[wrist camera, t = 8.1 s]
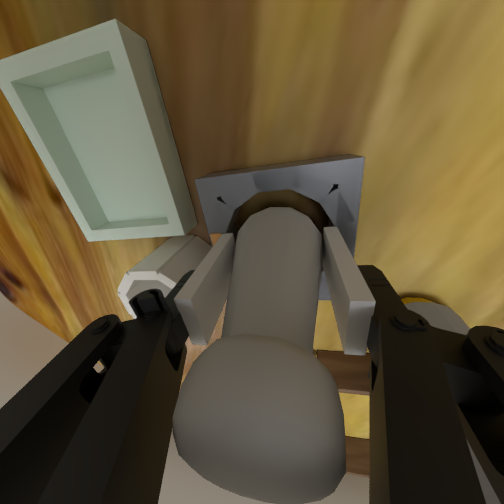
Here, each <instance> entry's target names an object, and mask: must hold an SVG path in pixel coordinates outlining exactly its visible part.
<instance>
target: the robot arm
mask: <svg viewBox="0 0 504 504" xmlns="http://www.w3.org/2000/svg"><path fill="white" fill-rule="evenodd" d="M234 251H235V241H234V236H233V233H228V234H222V235H221V236H220V238H219V239H218V240H217V242H216V243H215V245H214V246H213V247H212V249H211V250H210V251H209V253H208V254H207V255H206V257H205V258H204V259H203V261H202V262H201V263H200V265H199V266H198V267H197V269H196V270H190V271H189V272H187V273H186V274H184V275H183V276H182V278H181V279H180V280H179V282H177V284H176V285H175V287H173V289H172V290H171V291H170V292H169V294H168V295H167V296H166V297H164V295H163V293H162V291H161V290H160V289H149V290H145V291H143V292H141V293H139V294H137V295H136V296H134V297H133V298H132V299H131V300H130V301H129V304H130V306H131V308H132V310H133V311H134V313H135V315H136V317H137V318H136V319H133V320H128V321H124V322H121V321H120V319H119V317H118V316H117V315H114V314H111V315H106V316H103V317H100V318H98V319H97V320H95V321H93V322H92V323H91V324H89V325H88V326H87V327H86V328H85V329H84V330H83V331H82V332H81V333H80V334H78V335H77V336H76V337H75V338H74V339H73V340H72V341H71V342H70V343H69V344H68V345H67V346H66V347H65V348H64V349H63V350H62V351H61V352H60V353H59V354H58V355H56V356H55V357H54V358H53V359H52V360H51V361H50V362H49V363H48V364H47V365H46V366H45V367H44V368H43V369H42V370H41V371H40V372H39V373H38V374H37V375H35V377H33V378H32V380H30V381H29V382H28V383H27V384H26V385H25V386H24V387H23V388H22V389H21V390H20V391H19V392H18V393H17V394H16V395H15V396H14V397H12V399H10V400H9V401H8V402H7V403H6V404H5V405H4V406H3V407H2V408H1V409H0V504H158V500H159V494H160V489H161V484H162V479H163V473H164V468H165V463H166V457H167V453H168V448H169V442H170V437H171V432H172V427H173V414H174V410H175V407H176V403H177V399H178V396H179V390H180V385H181V380H182V375H183V369H184V364H185V359H186V354H187V347H186V345H185V342H186V340H187V338H188V336H189V337H190V340H191V342H192V344H198V345H208V343H209V340H210V338H211V335H212V333H213V330H214V328H215V326H216V323H217V321H218V318H219V316H220V314H221V311H222V309H223V306H224V304H225V302H226V299H227V297H228V290H229V284H230V277H231V271H232V264H233V257H234ZM323 253H324V255H323V269H324V273H325V277H326V281H327V285H328V289H329V293H330V297H331V301H332V306H333V310H334V314H335V318H336V322H337V326H338V330H339V334H340V338H341V343H342V347H343V351H344V354H349V355H364V356H366V350H367V347H368V349H369V352H370V355H371V362H370V367H369V371H368V376H367V378H368V379H370V490H369V495H370V496H369V497H370V501H369V504H486V501H485V498H484V495H483V491H482V488H481V485H480V482H479V478H478V475H477V472H476V469H475V466H474V462H473V459H472V456H471V453H470V449H469V446H468V443H469V445H470V447H471V449H472V451H473V452H474V454H475V456H476V458H477V460H478V462H479V464H480V465H481V467H482V469H483V471H484V473H485V475H486V477H487V479H488V480H489V482H490V484H491V486H492V488H493V490H494V492H495V494H496V495H497V497H498V499H499V501H500V503H501V504H504V330H503V329H500V328H496V327H490V326H475V327H473V328H471V329H469V331H468V333H467V335H464V334H460V333H456V332H452V331H447V330H443V329H439V328H436V327H433V326H430V324H429V322H428V321H427V320H426V319H425V318H424V317H422V316H421V315H420V314H418V313H416V312H414V311H412V310H408V309H407V308H406V306H405V305H404V303H403V302H402V300H401V299H400V297H399V296H398V294H397V293H396V292H395V290H394V289H393V287H392V286H391V284H390V283H389V281H388V280H387V278H386V277H385V275H384V274H383V273H382V271H381V270H379V269H378V268H376V267H375V266H373V265H357V264H356V263H355V261H354V259H353V257H352V255H351V253H350V251H349V249H348V247H347V245H346V243H345V241H344V239H343V237H342V236H341V234H340V232H339V230H338V228H337V227H324V232H323ZM98 361H100V362H101V363H102V365H103V366H104V369H103V370H102V371H101V372H100V373H97V372H96V371H95V369H94V368H93V367H94V365H95V364H96V363H97V362H98ZM466 439H467V440H466ZM467 441H468V443H467Z"/></svg>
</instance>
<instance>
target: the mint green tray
mask: <svg viewBox="0 0 504 504" xmlns="http://www.w3.org/2000/svg"><path fill="white" fill-rule="evenodd" d="M0 88H1V90H2V92H3V93H4V95H5V97H6V99H7V100H8V102H9V104H10V106H11V107H12V109H13V111H14V113H15V114H16V116H17V118H18V120H19V121H20V123H21V125H22V127H23V128H24V130H25V132H26V134H27V135H28V137H29V139H30V141H31V142H32V144H33V146H34V148H35V149H36V151H37V153H38V155H39V156H40V158H41V160H42V162H43V163H44V165H45V167H46V169H47V170H48V172H49V174H50V176H51V177H52V179H53V181H54V183H55V184H56V186H57V188H58V190H59V191H60V193H61V195H62V197H63V198H64V200H65V202H66V204H67V205H68V207H69V209H70V211H71V212H72V214H73V216H74V218H75V219H76V221H77V223H78V225H79V226H80V228H81V230H82V232H83V233H84V235H85V237H86V239H87V240H88V242H90V241H105V240H120V239H136V238H151V237H166V236H181V235H186V234H187V233H188V232H189V231H190V230H191V229H193V228H194V227H195V226H196V225H197V224H198V223H197V219H196V216H195V212H194V209H193V205H192V202H191V198H190V194H189V191H188V187H187V184H186V180H185V177H184V173H183V169H182V166H181V162H180V159H179V155H178V152H177V148H176V144H175V141H174V137H173V134H172V130H171V127H170V123H169V119H168V116H167V112H166V109H165V105H164V101H163V98H162V94H161V91H160V87H159V84H158V80H157V76H156V73H155V69H154V66H153V62H152V59H151V55H150V51H149V48H148V44H147V41H146V40H145V39H144V38H143V37H141V36H140V35H138V34H137V33H135V32H134V31H133V30H131V29H130V28H128V27H127V26H125V25H124V24H122V23H121V22H120V21H118V20H117V19H113V20H110V21H107V22H104V23H102V24H99V25H96V26H93V27H90V28H88V29H85V30H82V31H79V32H76V33H74V34H71V35H68V36H65V37H63V38H60V39H57V40H54V41H51V42H49V43H46V44H43V45H40V46H37V47H35V48H32V49H29V50H26V51H24V52H21V53H18V54H15V55H12V56H10V57H7V58H4V59H1V60H0Z"/></svg>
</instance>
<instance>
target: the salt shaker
mask: <svg viewBox="0 0 504 504" xmlns="http://www.w3.org/2000/svg"><path fill="white" fill-rule="evenodd" d="M323 255H324V253H323V241H322V234H321V233H320V232H319V230H318V229H317V227H316V226H315V225H314V223H313V222H312V221H311V219H310V218H309V216H307V215H305V214H303V213H301V212H299V211H297V210H295V209H293V208H291V207H269V208H266V209H264V210H262V211H260V212H257V213H255V214H253V215H251V216H250V217H249V218H248V219H247V221H246V222H245V223H244V224H243V226H242V227H241V228H240V230H239V231H238V235H237V240H236V245H235V251H234V257H233V264H232V271H231V277H230V284H229V290H228V297H227V303H226V310H225V316H224V323H223V329H222V336H221V338H220V339H217V340H216V341H214V342H213V343H212V344H211V345H210V346H209V347H208V348H207V349H206V350H204V351H203V352H202V353H201V354H200V355H199V357H198V358H197V359H196V360H195V361H194V362H193V364H192V366H191V368H190V370H189V372H188V374H187V376H186V378H185V380H184V381H183V383H182V385H181V389H180V392H179V396H178V399H177V403H176V407H175V410H174V414H173V436H174V439H175V443H176V447H177V450H178V454H179V455H180V456H181V457H182V458H183V459H184V460H185V462H187V464H188V465H189V466H191V468H192V469H194V470H195V471H196V472H197V473H198V474H200V475H201V476H202V477H203V478H205V479H206V480H208V481H210V482H212V483H213V484H215V485H217V486H219V487H221V488H223V489H225V490H228V491H230V492H233V493H235V494H238V495H240V496H243V497H248V498H251V499H255V500H259V501H263V502H269V503H276V504H304V503H309V502H315V501H319V500H322V499H324V498H325V497H327V496H329V495H330V494H332V493H333V492H334V491H335V489H336V488H337V486H338V484H339V483H340V481H341V479H342V478H343V476H344V475H345V473H346V448H345V428H344V414H343V410H342V406H341V401H340V397H339V392H338V388H337V384H336V382H335V380H334V378H333V376H332V374H331V372H330V371H329V370H328V369H327V368H326V367H325V366H324V365H323V364H322V363H321V362H320V361H319V360H318V359H317V358H316V357H315V356H314V355H313V354H312V353H313V341H314V332H315V324H316V315H317V306H318V298H319V289H320V281H321V272H322V264H323Z"/></svg>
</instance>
